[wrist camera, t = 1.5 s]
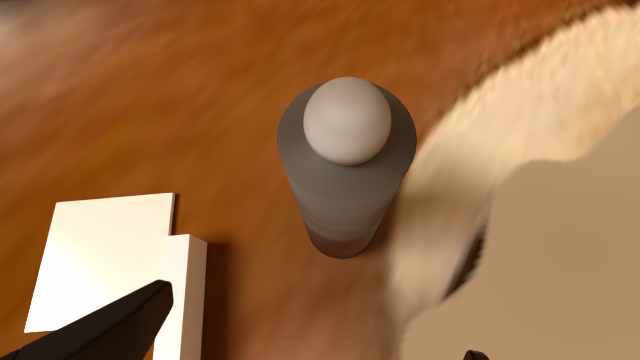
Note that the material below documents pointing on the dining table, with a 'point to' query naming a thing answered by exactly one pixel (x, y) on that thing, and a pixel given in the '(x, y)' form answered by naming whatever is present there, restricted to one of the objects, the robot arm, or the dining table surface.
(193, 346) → the low frosted rail
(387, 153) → the pepper mill
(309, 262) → the dining table surface
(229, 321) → the dining table surface
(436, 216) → the dining table surface
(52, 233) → the coaster
